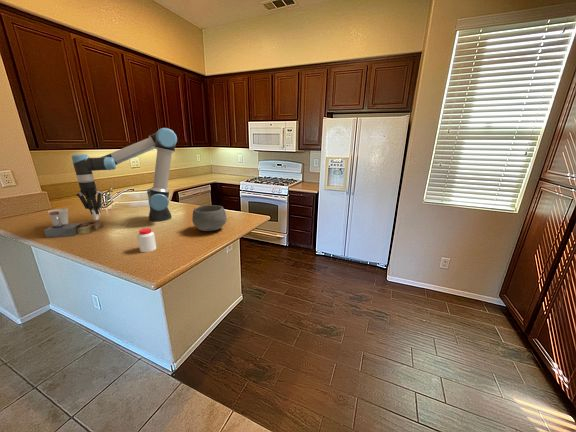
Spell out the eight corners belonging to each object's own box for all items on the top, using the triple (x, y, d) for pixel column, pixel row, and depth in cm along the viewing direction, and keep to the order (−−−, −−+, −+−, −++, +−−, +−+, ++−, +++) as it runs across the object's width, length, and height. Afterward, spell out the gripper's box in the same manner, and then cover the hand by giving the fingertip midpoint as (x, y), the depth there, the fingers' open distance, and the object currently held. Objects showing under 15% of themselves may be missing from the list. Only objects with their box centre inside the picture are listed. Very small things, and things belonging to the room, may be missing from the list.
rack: (103, 226, 159) (101, 220, 158) (96, 230, 151) (95, 224, 150) (85, 227, 157) (84, 221, 156) (78, 231, 149) (76, 225, 148)
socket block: (83, 230, 152) (82, 223, 150) (74, 236, 142) (72, 228, 141) (58, 231, 149) (56, 224, 147) (46, 237, 139) (44, 229, 138)
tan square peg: (92, 231, 150) (91, 225, 149) (89, 233, 147) (87, 227, 145) (72, 232, 148) (70, 226, 146) (68, 234, 144) (66, 228, 143)
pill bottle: (144, 246, 130) (141, 227, 127) (159, 246, 130) (156, 227, 127) (136, 252, 122) (133, 232, 119) (152, 252, 123) (149, 232, 120)
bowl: (233, 227, 161) (232, 206, 157) (211, 238, 143) (209, 214, 138) (209, 223, 169) (207, 202, 165) (186, 232, 151) (183, 209, 147)
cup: (60, 229, 152) (55, 213, 149) (48, 228, 154) (43, 212, 151) (76, 224, 162) (72, 209, 159) (64, 223, 164) (60, 208, 160)
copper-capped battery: (66, 232, 147) (60, 211, 143) (61, 235, 143) (55, 213, 139) (58, 233, 146) (52, 211, 142) (53, 235, 142) (47, 213, 138)
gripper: (102, 180, 145) (111, 216, 152) (77, 180, 142) (88, 218, 149) (95, 181, 138) (105, 220, 145) (69, 182, 135) (80, 222, 142)
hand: (96, 219), depth 147 cm, fingers closed
